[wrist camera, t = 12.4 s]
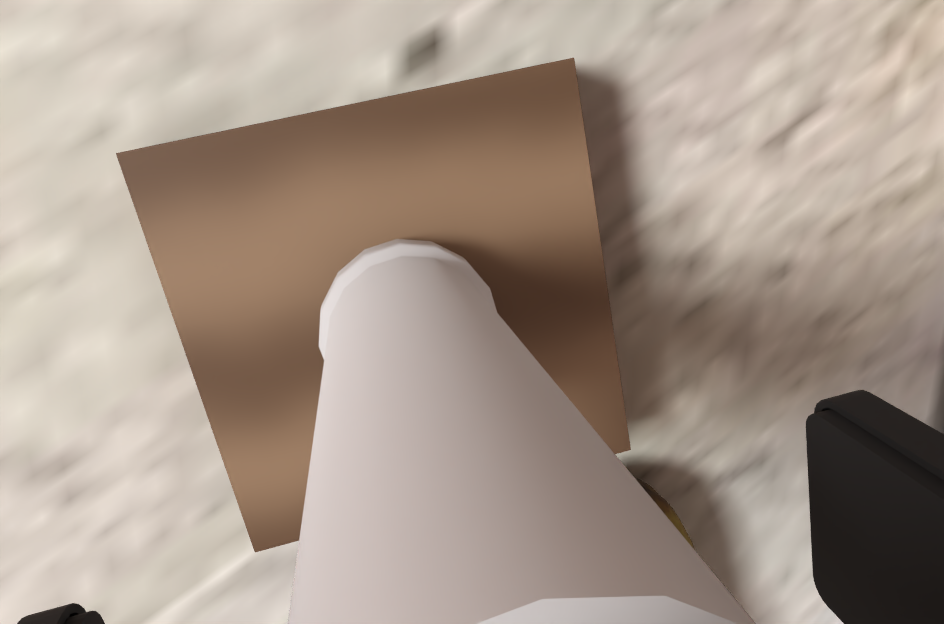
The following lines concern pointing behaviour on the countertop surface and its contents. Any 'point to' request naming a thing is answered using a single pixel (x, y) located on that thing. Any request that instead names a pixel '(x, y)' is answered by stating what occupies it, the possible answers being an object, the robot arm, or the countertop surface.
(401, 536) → the bottle
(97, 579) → the countertop surface
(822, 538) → the robot arm
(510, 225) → the walnut plinth
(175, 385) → the countertop surface
